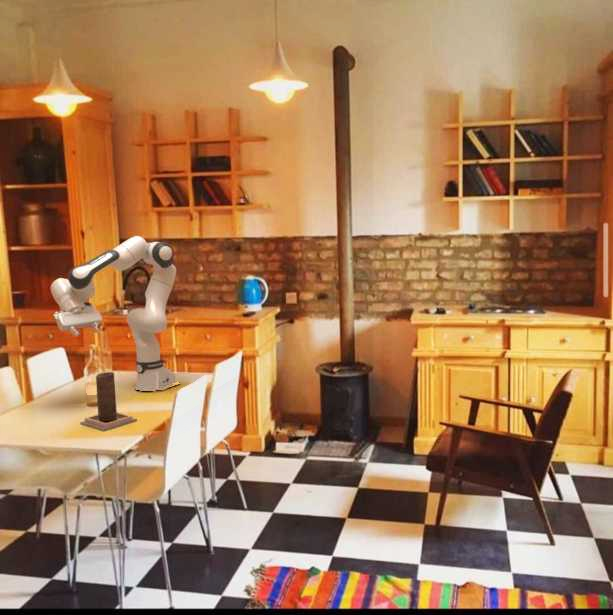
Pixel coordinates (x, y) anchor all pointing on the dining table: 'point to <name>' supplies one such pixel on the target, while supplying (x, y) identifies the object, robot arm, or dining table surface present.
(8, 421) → the dining table surface
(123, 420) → the plate
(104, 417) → the candle
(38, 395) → the dining table surface
